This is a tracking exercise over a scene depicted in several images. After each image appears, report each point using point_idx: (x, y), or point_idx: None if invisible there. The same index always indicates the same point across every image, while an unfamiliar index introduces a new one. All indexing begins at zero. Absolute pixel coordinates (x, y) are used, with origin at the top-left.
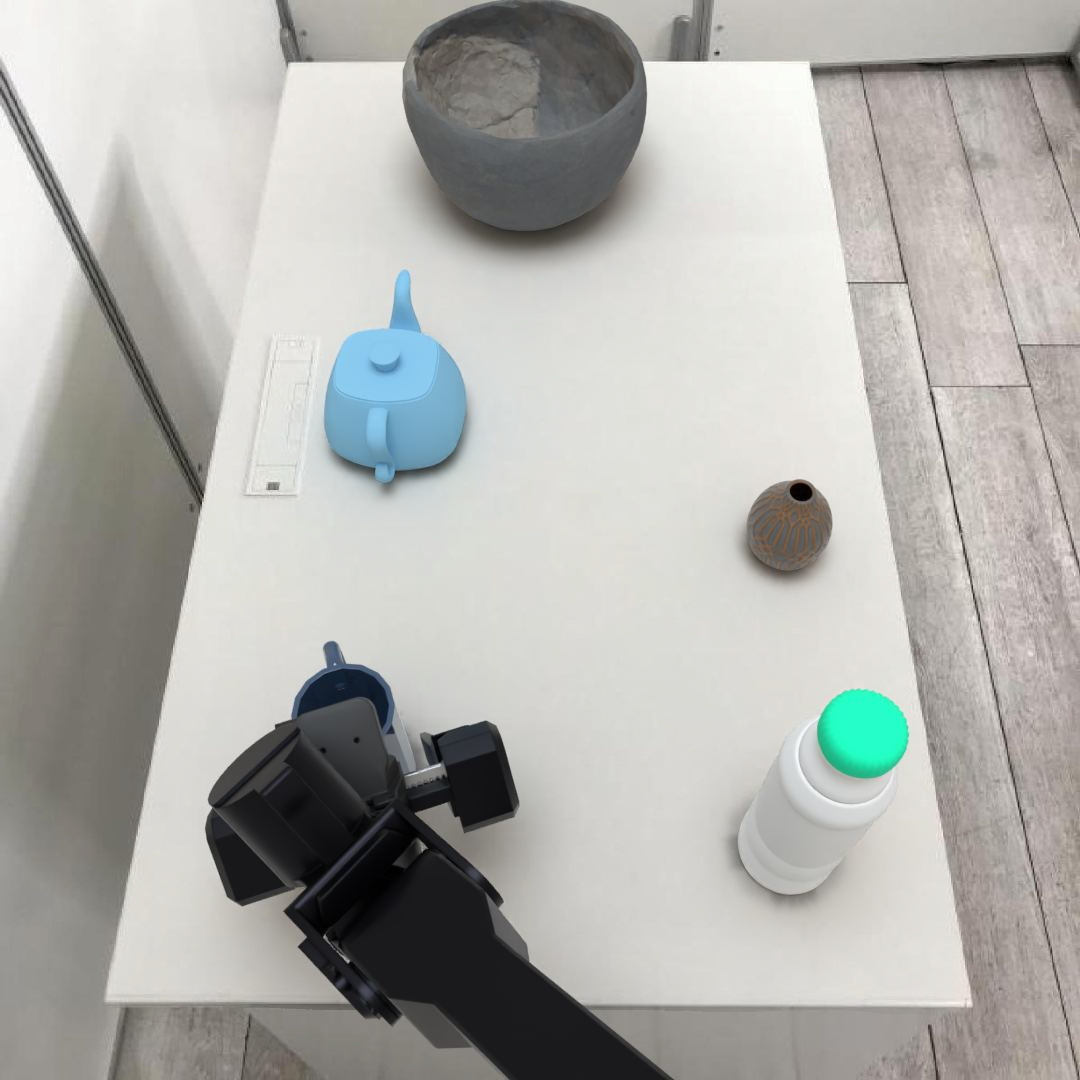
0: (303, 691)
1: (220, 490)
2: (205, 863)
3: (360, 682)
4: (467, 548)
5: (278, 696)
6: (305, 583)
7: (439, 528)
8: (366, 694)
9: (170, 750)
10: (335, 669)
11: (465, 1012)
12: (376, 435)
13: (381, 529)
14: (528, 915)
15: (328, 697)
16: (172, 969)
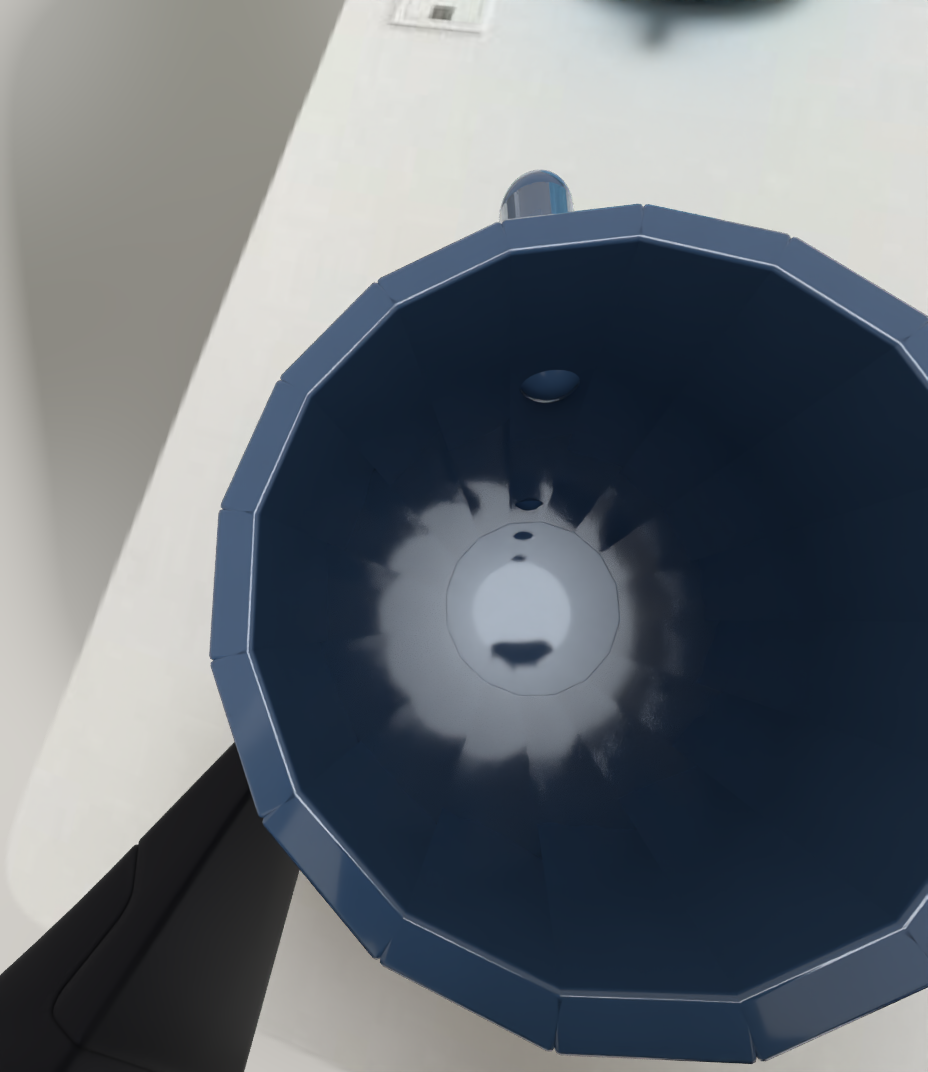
0: (341, 348)
1: (350, 11)
2: (183, 695)
3: (658, 386)
4: (806, 173)
5: None
6: (466, 195)
7: (751, 125)
8: (626, 446)
9: (171, 459)
10: (590, 237)
11: None
12: None
13: (630, 113)
14: (846, 1067)
15: (484, 426)
16: (81, 891)
